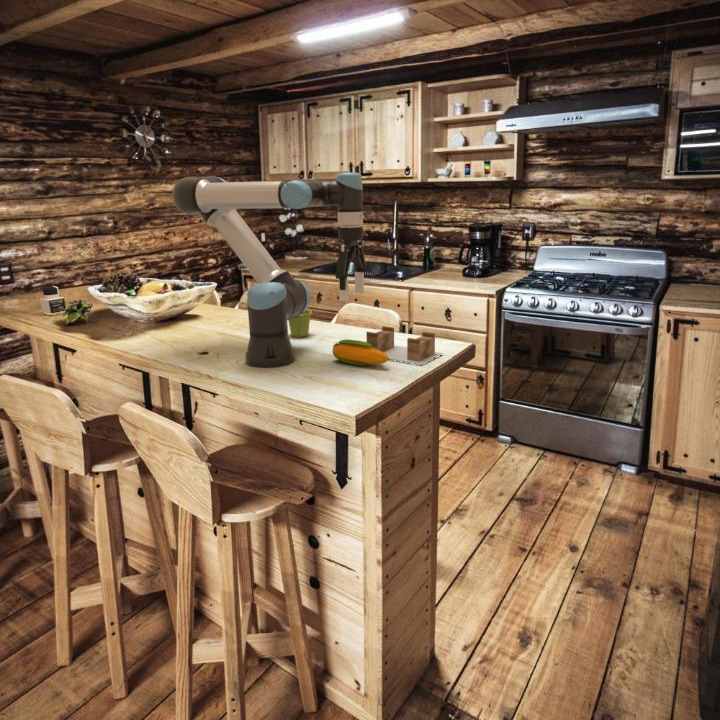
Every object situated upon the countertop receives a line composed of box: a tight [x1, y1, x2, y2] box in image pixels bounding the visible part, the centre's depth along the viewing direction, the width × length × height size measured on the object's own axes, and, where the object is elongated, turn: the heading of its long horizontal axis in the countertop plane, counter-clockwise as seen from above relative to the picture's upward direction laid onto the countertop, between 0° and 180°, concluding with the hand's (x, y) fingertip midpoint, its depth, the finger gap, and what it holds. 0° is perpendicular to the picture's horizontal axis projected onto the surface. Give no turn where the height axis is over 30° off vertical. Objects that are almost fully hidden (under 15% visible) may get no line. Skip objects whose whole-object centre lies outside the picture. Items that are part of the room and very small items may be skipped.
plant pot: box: [287, 309, 313, 339], centre depth 217 cm, size 9×9×9 cm
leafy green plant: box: [61, 299, 94, 325], centre depth 244 cm, size 11×11×12 cm
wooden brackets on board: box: [366, 325, 436, 361], centre depth 191 cm, size 10×19×7 cm, turn 55°
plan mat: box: [383, 344, 444, 366], centre depth 192 cm, size 14×23×1 cm, turn 55°
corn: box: [332, 339, 389, 367], centre depth 182 cm, size 7×8×20 cm
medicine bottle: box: [39, 285, 67, 313], centre depth 262 cm, size 7×7×12 cm
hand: (352, 296), depth 187 cm, fingers open, 13 cm apart
